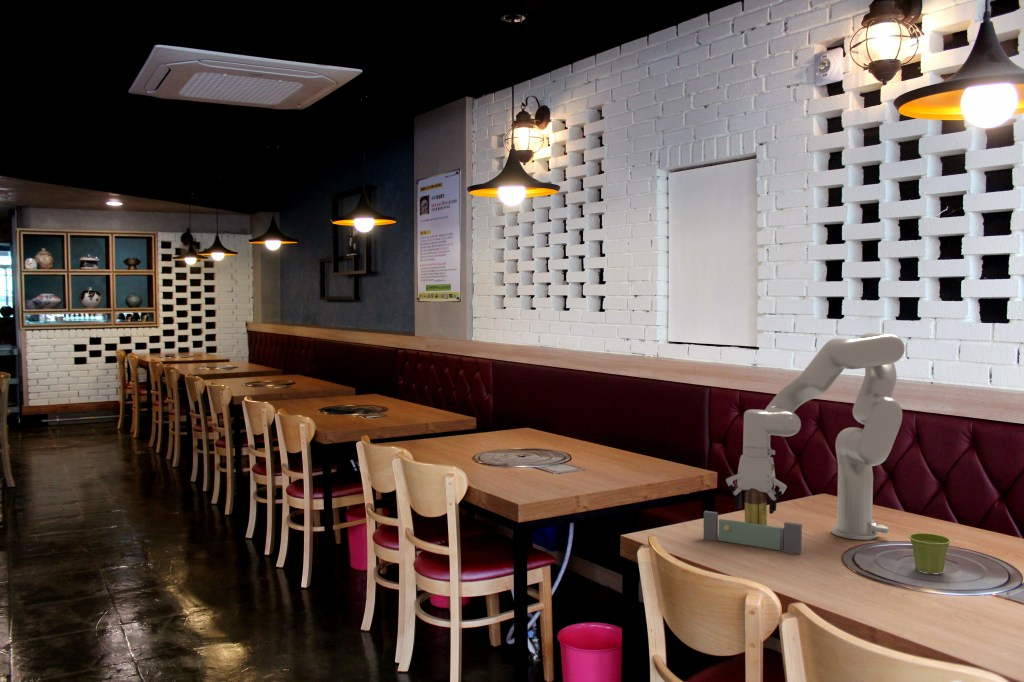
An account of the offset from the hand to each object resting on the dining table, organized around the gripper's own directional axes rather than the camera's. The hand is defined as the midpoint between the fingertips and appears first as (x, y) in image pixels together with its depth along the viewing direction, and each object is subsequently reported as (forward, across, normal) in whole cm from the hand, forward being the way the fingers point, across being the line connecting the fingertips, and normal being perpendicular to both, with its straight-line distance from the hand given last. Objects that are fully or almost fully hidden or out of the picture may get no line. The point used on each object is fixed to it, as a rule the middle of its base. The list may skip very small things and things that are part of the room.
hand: (755, 510), depth 235 cm
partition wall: (+8, -1, +10) cm, 13 cm away
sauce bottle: (+8, 0, 0) cm, 8 cm away
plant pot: (+8, -46, +8) cm, 48 cm away
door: (+7, -2, +11) cm, 13 cm away
